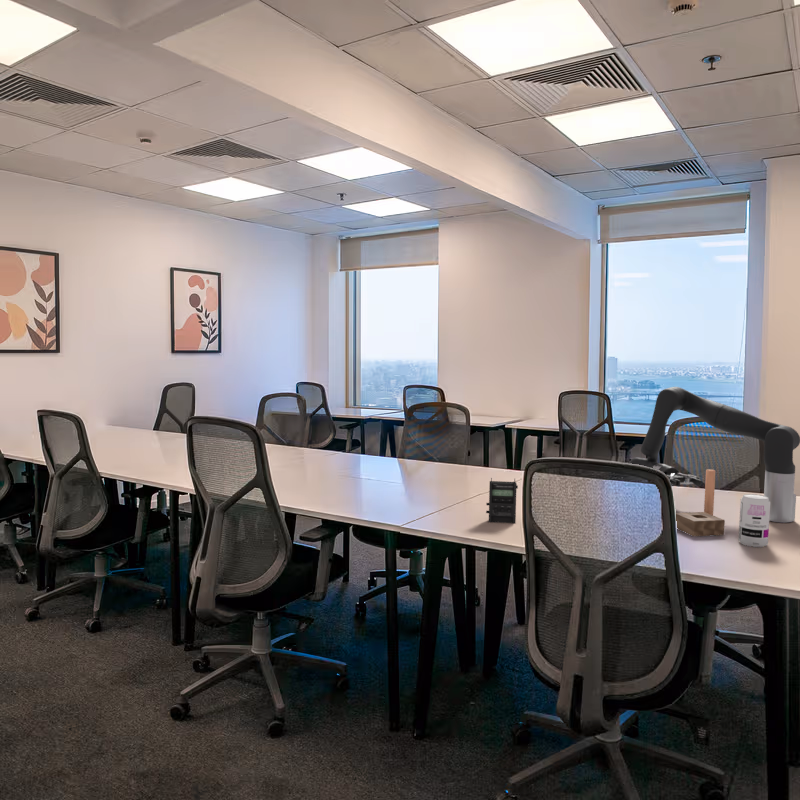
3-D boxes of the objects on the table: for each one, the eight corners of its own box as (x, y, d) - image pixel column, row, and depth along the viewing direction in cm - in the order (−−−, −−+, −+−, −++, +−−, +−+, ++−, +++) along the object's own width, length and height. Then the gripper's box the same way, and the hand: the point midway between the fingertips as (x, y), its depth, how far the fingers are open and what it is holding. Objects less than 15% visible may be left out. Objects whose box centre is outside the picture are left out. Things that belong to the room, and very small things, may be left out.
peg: (709, 519, 247) (711, 469, 245) (714, 521, 244) (717, 470, 242) (701, 520, 246) (704, 469, 245) (707, 522, 243) (709, 471, 242)
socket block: (703, 526, 237) (703, 511, 237) (723, 535, 227) (724, 520, 226) (673, 527, 235) (674, 513, 235) (693, 536, 225) (694, 521, 224)
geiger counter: (485, 522, 238) (486, 479, 237) (486, 519, 243) (487, 476, 241) (516, 524, 237) (518, 480, 236) (516, 521, 241) (517, 478, 240)
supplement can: (755, 539, 222) (758, 493, 220) (773, 547, 214) (776, 499, 212) (732, 540, 220) (735, 493, 219) (750, 548, 212) (752, 499, 211)
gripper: (648, 465, 269) (672, 473, 253) (682, 464, 272) (708, 473, 256) (647, 484, 270) (671, 493, 254) (680, 483, 273) (706, 493, 257)
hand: (689, 483), depth 255 cm, fingers open, 8 cm apart
